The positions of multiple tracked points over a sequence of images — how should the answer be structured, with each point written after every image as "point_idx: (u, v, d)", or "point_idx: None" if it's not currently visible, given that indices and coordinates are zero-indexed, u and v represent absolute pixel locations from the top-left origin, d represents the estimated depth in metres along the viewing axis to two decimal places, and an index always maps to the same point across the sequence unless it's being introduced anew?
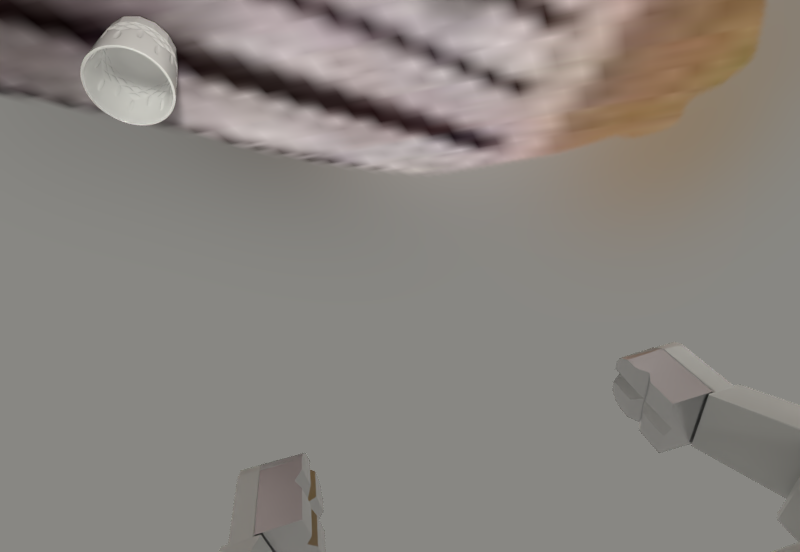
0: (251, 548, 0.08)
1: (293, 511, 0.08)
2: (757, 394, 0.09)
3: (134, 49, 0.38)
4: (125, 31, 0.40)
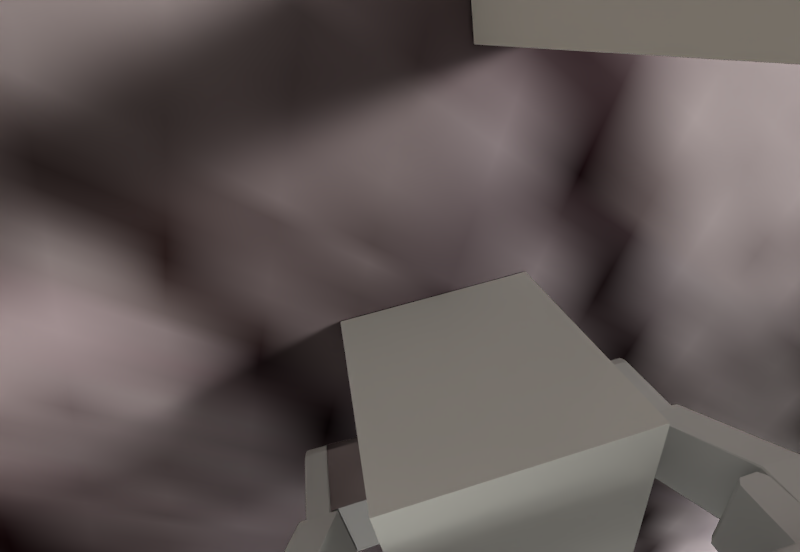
0: (330, 523, 0.08)
1: None
2: (693, 415, 0.09)
3: None
4: None
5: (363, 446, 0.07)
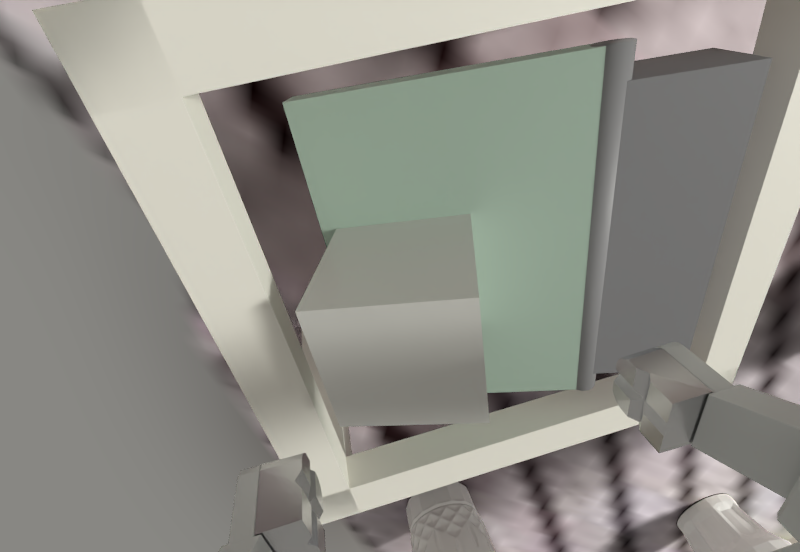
0: (251, 548, 0.08)
1: (293, 511, 0.08)
2: (757, 394, 0.09)
3: None
4: (490, 543, 0.37)
5: (310, 285, 0.12)
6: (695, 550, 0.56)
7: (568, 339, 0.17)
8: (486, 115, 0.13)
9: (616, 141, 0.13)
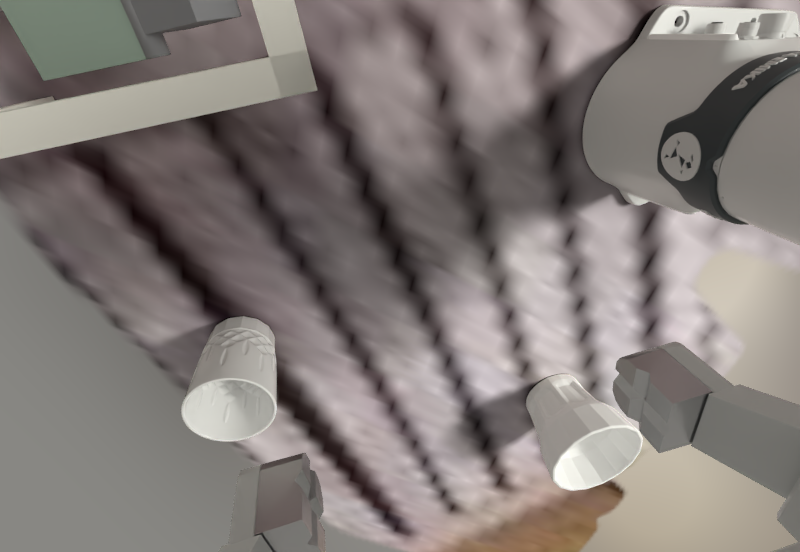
0: (251, 548, 0.08)
1: (293, 511, 0.08)
2: (757, 395, 0.09)
3: (272, 396, 0.37)
4: (266, 359, 0.39)
5: None
6: (536, 426, 0.58)
7: None
8: None
9: None
